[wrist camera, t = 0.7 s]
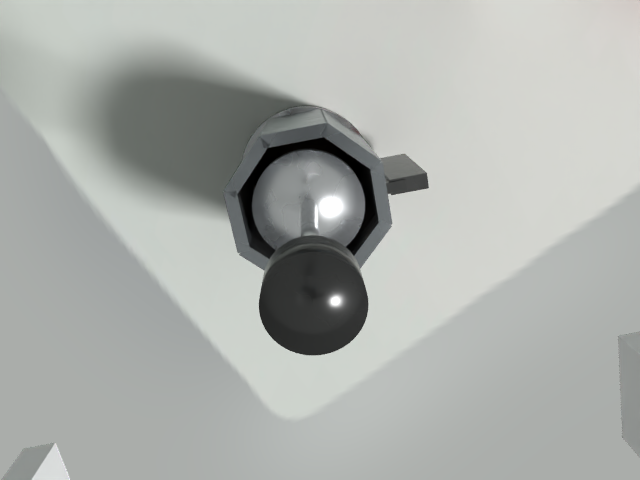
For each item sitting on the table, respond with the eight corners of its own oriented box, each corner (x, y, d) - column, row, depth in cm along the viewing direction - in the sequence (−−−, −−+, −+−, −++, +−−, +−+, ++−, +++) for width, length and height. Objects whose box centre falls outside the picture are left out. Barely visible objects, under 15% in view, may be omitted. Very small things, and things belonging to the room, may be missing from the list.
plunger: (242, 160, 35) (196, 233, 20) (353, 138, 35) (394, 196, 20) (265, 265, 37) (241, 404, 22) (371, 245, 37) (420, 372, 22)
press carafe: (228, 120, 45) (203, 139, 33) (390, 88, 45) (421, 97, 33) (257, 245, 48) (243, 302, 37) (409, 217, 48) (443, 265, 36)
